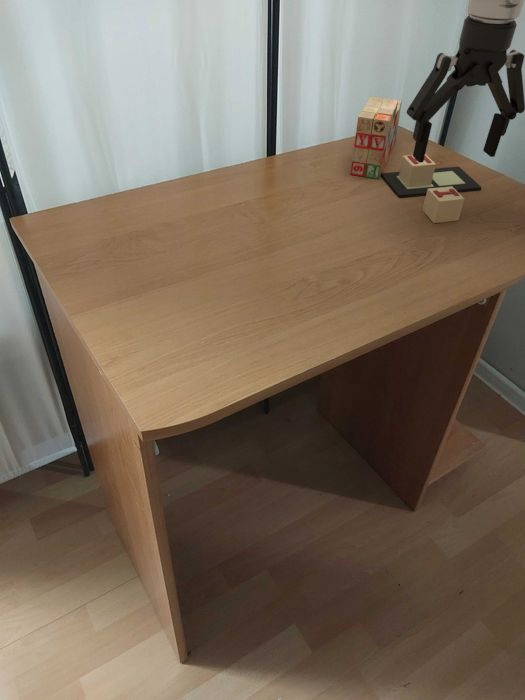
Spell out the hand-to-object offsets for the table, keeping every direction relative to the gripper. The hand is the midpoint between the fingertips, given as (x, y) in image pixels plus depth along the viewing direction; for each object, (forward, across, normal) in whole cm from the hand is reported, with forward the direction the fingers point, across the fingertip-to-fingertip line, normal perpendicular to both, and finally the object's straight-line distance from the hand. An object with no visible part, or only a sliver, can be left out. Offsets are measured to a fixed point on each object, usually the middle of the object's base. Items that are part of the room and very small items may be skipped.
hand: (453, 156), depth 94 cm
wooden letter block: (+11, 0, -1) cm, 11 cm away
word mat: (+11, +4, +12) cm, 17 cm away
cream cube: (+11, +1, +12) cm, 16 cm away
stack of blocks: (+12, -3, +26) cm, 29 cm away
